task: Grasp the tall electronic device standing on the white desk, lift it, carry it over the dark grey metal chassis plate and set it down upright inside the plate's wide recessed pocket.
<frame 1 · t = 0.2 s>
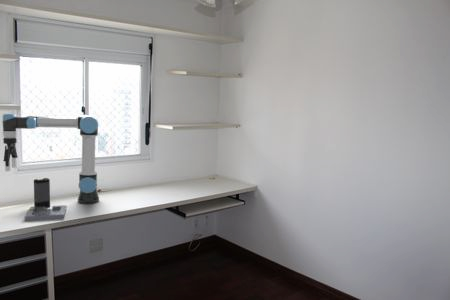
hand: (11, 169, 251), 28 cm above the table, fingers open, 13 cm apart
chassis: (46, 215, 246), on the table
electronic device: (42, 207, 262), on the table
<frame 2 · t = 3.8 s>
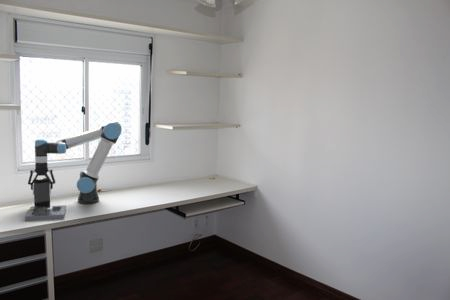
hand: (42, 193, 261), 10 cm above the table, fingers closed on electronic device, 10 cm apart
electronic device: (42, 207, 262), on the table, touching gripper
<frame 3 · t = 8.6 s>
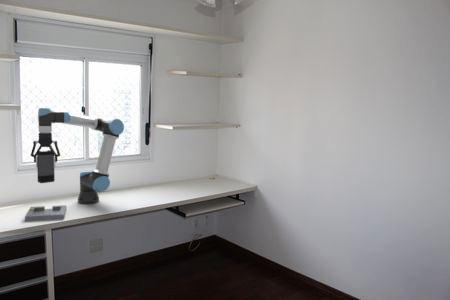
hand: (45, 167, 242), 32 cm above the table, fingers closed on electronic device, 10 cm apart
electronic device: (46, 182, 243), point 22 cm above the table, touching gripper
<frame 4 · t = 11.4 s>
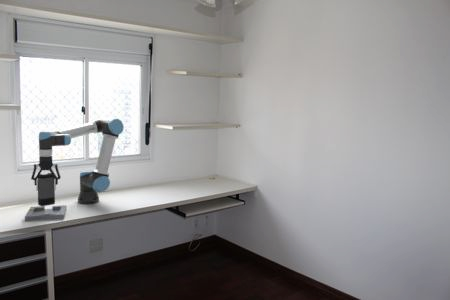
hand: (46, 189, 244), 17 cm above the table, fingers closed on electronic device, 10 cm apart
electronic device: (46, 204, 245), point 7 cm above the table, touching gripper
when the fingers open (12 cm above the table, at t = 13.8 s): electronic device drops 1 cm, resting on chassis.
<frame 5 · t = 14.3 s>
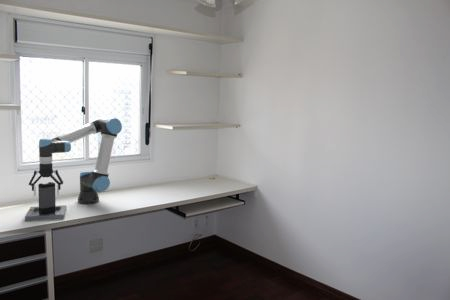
hand: (46, 195, 244), 13 cm above the table, fingers open, 13 cm apart
electronic device: (47, 213, 246), point 1 cm above the table, touching chassis
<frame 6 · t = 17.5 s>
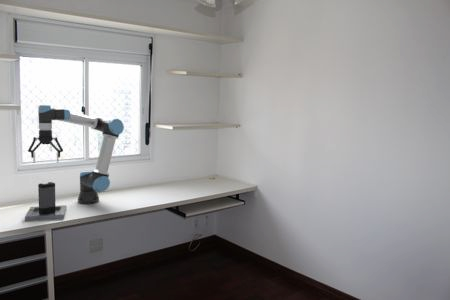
hand: (46, 162, 242), 35 cm above the table, fingers open, 13 cm apart
nothing on the table moved.
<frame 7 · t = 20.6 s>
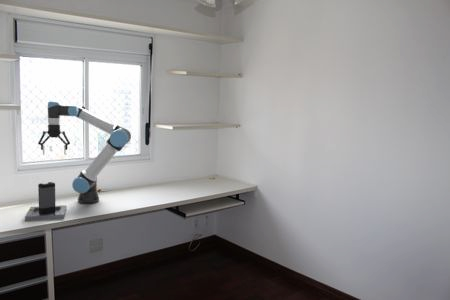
hand: (54, 154, 263), 37 cm above the table, fingers open, 13 cm apart
nothing on the table moved.
at the end: electronic device inside the target area on the chassis (0.3 cm from its centre), point 0.8 cm above the chassis's base; electronic device tilted 0°; the gripper is holding nothing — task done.
